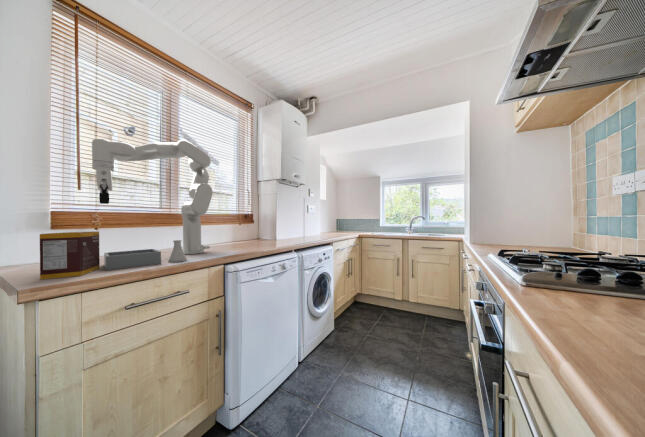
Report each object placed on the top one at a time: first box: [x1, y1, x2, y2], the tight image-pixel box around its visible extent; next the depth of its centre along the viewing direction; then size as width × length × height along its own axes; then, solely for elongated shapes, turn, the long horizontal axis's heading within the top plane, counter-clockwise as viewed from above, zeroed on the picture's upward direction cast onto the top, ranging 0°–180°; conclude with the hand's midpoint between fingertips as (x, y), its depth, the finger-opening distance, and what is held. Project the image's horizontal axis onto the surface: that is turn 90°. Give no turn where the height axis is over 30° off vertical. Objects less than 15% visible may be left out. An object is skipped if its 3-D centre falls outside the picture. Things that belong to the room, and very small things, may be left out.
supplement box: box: [39, 230, 101, 280], centre depth 86 cm, size 10×15×16 cm
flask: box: [167, 239, 187, 263], centre depth 110 cm, size 7×7×10 cm
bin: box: [103, 248, 162, 271], centre depth 103 cm, size 18×18×6 cm
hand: (104, 202), depth 108 cm, fingers open, 9 cm apart
